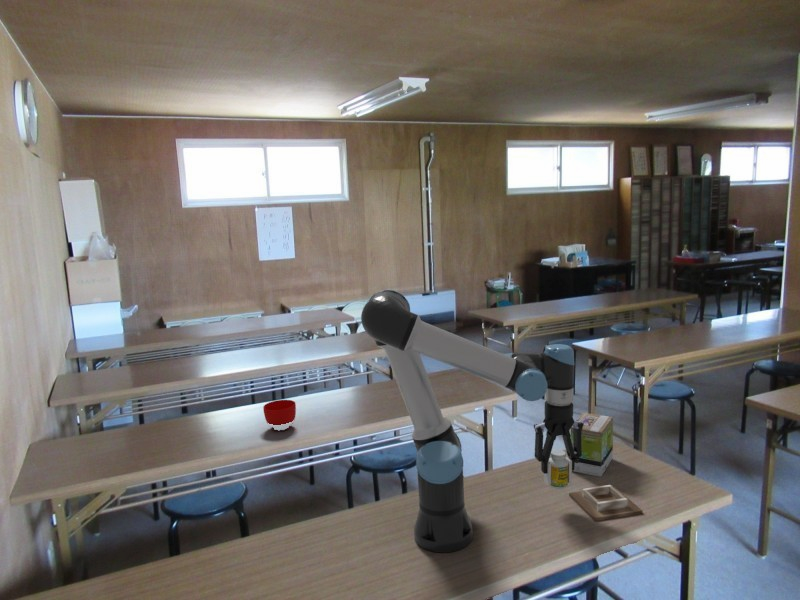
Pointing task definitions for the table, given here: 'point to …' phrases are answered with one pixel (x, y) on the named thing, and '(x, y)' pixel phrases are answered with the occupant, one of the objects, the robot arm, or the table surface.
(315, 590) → the table surface
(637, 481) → the table surface
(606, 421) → the tea box
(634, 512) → the socket board
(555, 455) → the supplement bottle
